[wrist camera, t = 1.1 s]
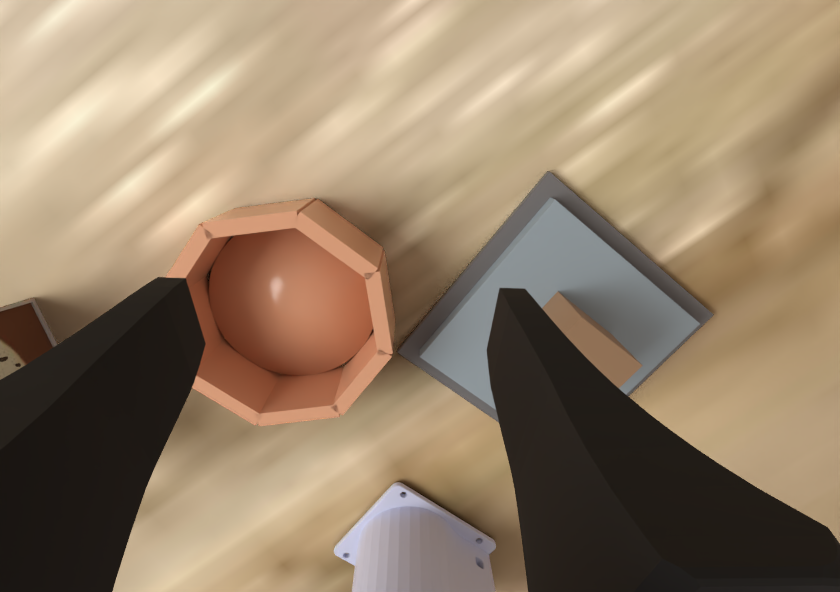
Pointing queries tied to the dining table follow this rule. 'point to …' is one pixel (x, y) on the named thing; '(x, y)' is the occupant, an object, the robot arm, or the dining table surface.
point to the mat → (498, 245)
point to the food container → (22, 335)
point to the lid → (565, 305)
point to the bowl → (287, 310)
